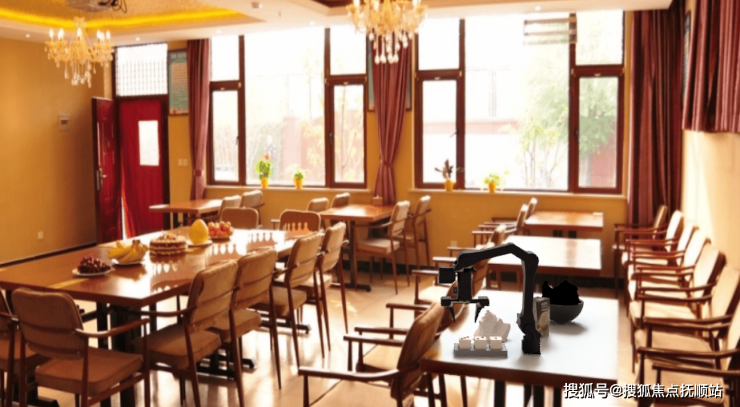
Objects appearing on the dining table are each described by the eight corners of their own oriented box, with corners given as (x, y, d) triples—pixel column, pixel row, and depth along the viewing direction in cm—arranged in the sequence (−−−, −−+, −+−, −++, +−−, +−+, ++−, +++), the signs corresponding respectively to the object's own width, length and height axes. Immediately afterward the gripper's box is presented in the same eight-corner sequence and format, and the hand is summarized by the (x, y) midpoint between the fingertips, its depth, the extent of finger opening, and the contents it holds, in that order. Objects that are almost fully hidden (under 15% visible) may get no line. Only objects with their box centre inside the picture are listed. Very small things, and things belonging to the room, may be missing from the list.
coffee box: (538, 339, 278) (538, 302, 277) (524, 336, 283) (525, 299, 281) (549, 335, 285) (550, 298, 283) (536, 332, 289) (537, 295, 288)
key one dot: (500, 346, 264) (500, 336, 263) (502, 350, 259) (502, 339, 259) (489, 346, 264) (489, 336, 264) (490, 349, 260) (490, 339, 259)
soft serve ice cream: (509, 348, 272) (505, 317, 268) (472, 348, 277) (468, 318, 272) (511, 332, 283) (507, 302, 279) (475, 333, 288) (471, 303, 284)
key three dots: (470, 346, 265) (470, 335, 264) (470, 349, 260) (470, 339, 260) (458, 346, 265) (458, 335, 265) (459, 349, 261) (459, 339, 260)
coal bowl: (590, 321, 305) (591, 280, 303) (571, 331, 290) (571, 288, 289) (550, 314, 318) (550, 275, 317) (529, 323, 304) (530, 282, 302)
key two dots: (485, 346, 264) (485, 336, 264) (486, 349, 260) (486, 339, 259) (474, 346, 265) (474, 335, 264) (475, 349, 260) (475, 339, 260)
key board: (504, 349, 266) (504, 343, 266) (507, 356, 257) (507, 350, 257) (454, 349, 268) (454, 343, 267) (455, 356, 259) (455, 350, 258)
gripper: (486, 279, 268) (486, 317, 269) (439, 279, 269) (440, 317, 271) (489, 285, 257) (489, 325, 258) (440, 285, 258) (441, 325, 259)
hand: (464, 322), depth 262 cm, fingers open, 8 cm apart
